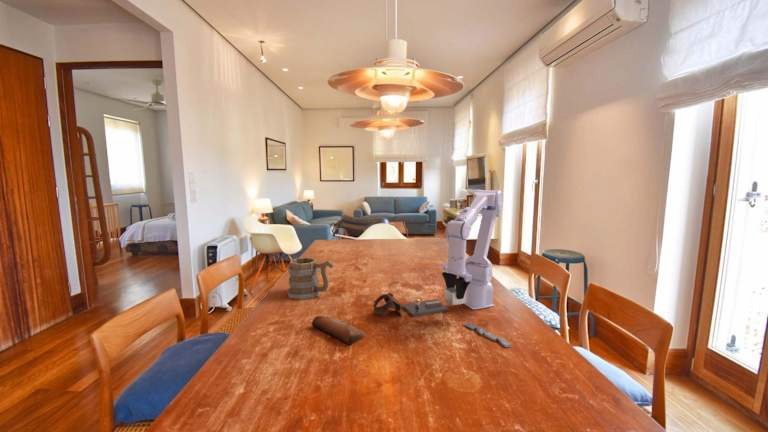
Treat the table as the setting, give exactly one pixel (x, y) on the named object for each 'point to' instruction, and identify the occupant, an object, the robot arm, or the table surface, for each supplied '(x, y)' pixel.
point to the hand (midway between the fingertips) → (455, 295)
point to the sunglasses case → (339, 329)
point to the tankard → (307, 278)
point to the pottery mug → (387, 304)
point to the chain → (488, 334)
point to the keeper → (424, 307)
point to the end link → (453, 296)
